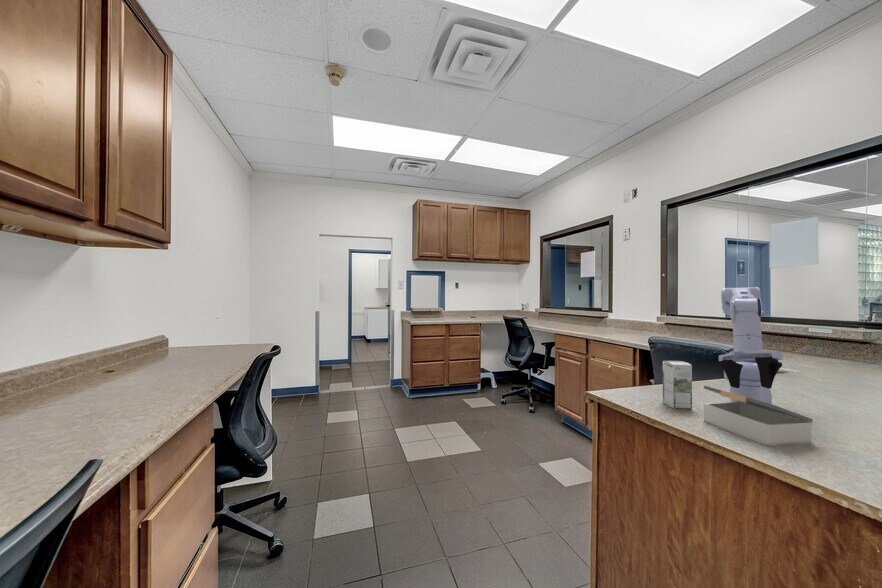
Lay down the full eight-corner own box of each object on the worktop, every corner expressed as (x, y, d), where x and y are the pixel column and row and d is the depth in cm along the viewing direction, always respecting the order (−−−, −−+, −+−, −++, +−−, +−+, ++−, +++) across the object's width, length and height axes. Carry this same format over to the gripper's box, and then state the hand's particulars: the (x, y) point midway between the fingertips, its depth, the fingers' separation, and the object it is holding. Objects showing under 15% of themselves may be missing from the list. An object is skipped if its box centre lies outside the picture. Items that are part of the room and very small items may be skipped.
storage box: (739, 418, 91) (739, 401, 92) (811, 443, 76) (810, 422, 76) (703, 421, 90) (703, 403, 90) (769, 446, 74) (769, 425, 74)
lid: (737, 402, 92) (739, 398, 92) (811, 424, 75) (812, 419, 76) (701, 389, 90) (702, 385, 90) (768, 409, 74) (770, 403, 74)
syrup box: (680, 403, 105) (679, 360, 105) (693, 409, 99) (692, 363, 99) (662, 403, 105) (661, 360, 106) (673, 409, 99) (672, 363, 100)
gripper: (709, 338, 94) (710, 383, 90) (764, 330, 81) (768, 383, 76) (729, 344, 95) (731, 389, 91) (788, 338, 81) (793, 390, 77)
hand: (749, 387), depth 84 cm, fingers open, 7 cm apart
